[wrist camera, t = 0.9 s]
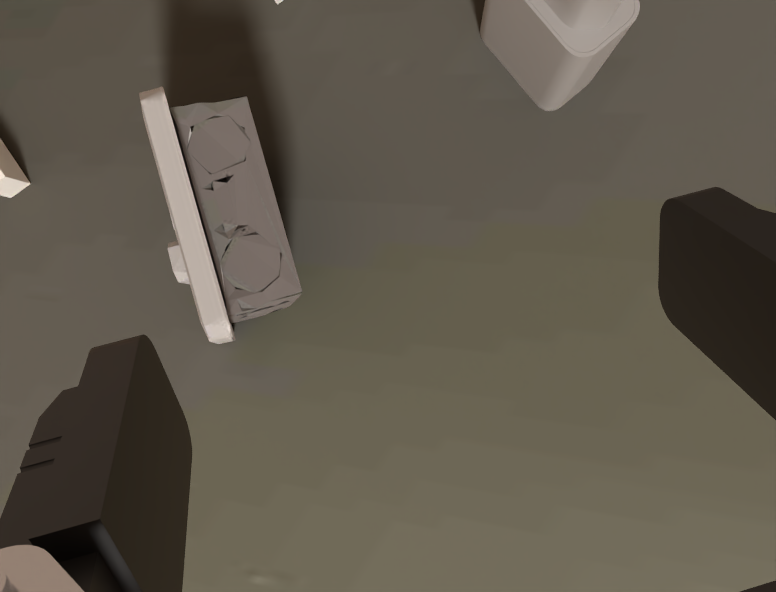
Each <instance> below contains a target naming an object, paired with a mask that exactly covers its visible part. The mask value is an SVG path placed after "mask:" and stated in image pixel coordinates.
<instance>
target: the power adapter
mask: <svg viewBox="0 0 776 592" xmlns="http://www.w3.org/2000/svg"><path fill="white" fill-rule="evenodd" d="M639 10H640V3H639V0H485V4H484V10H483V16H482V21H481V27H480V36H481V39H482V40H483V42H484V43H485V45H486V46H487V47H488V48H489V49H490V50H491V52H492V53H493V54H494V55H495V56H496V58H497V59H498V60H499V61H500V62H501V63H502V65H503V66H504V67H505V68H506V69H507V70H508V72H509V73H510V74H511V75H512V76H513V78H514V79H515V80H516V81H517V82H518V83H519V85H520V86H521V87H522V88H523V89H524V91H525V92H526V93H527V94H528V95H529V96H530V98H531V99H532V100H533V101H534V102H535V104H536V105H537V106H539V107H540V108H541V109H543V110H546V111H553V110H557V109H559V108H560V107H562V106H563V105H564V104H565V103H566V102H568V101H569V100H570V99H571V98H572V97H574V96H575V95H576V94H577V93H578V92H580V91H581V90H582V89H583V88H584V87H586V86H587V85H588V84H589V83H590V81H591V80H592V79H593V77H594V76H595V75H596V73H597V72H598V70H599V69H600V68H601V66H602V65H603V64H604V62H605V61H606V59H607V58H608V57H609V55H610V54H611V53H612V51H613V50H614V48H615V47H616V46H617V44H618V43H619V42H620V40H621V39H622V37H623V36H624V35H625V33H626V32H627V31H628V29H629V28H630V26H631V25H632V24H633V22H634V21H635V19H636V18H637V16H638V13H639Z"/></svg>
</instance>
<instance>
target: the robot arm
mask: <svg viewBox="0 0 776 592" xmlns="http://www.w3.org/2000/svg"><path fill="white" fill-rule="evenodd" d="M658 288H659V296H660V300H661V304H662V307H663V309H664V311H665V313H666V315H667V317H668V319H669V320H670V321H671V323H672V324H673V325H674V326H675V327H676V328H677V329H678V330H679V331H681V332H682V333H683V334H684V335H685V336H686V337H687V338H688V339H689V340H690V341H691V342H692V343H693V344H694V345H696V346H697V347H698V348H699V349H700V350H701V351H702V352H703V353H704V354H705V355H706V356H707V357H708V358H709V359H711V360H712V361H713V362H714V363H715V364H716V365H717V366H718V367H719V368H720V369H721V370H722V371H723V372H725V373H726V374H727V375H728V376H729V377H730V378H731V379H732V380H733V381H734V382H735V383H736V384H737V385H738V386H740V387H741V388H742V389H743V390H744V391H745V392H746V393H747V394H748V395H749V396H750V397H751V398H752V399H753V400H755V401H756V402H757V403H758V404H759V405H760V406H761V407H762V408H763V409H764V410H765V411H766V412H767V413H768V414H770V415H771V416H772V417H773V418H774V419H775V420H776V213H772V212H769V211H765V210H761V209H757V208H756V207H754V206H752V205H750V204H748V203H747V202H745V201H743V200H741V199H740V198H738V197H736V196H734V195H732V194H731V193H729V192H727V191H725V190H724V189H721V188H718V187H713V188H709V189H705V190H701V191H698V192H694V193H690V194H686V195H682V196H678V197H675V198H671V199H668V200H667V201H666V202H665V203H664V204H663V206H662V209H661V213H660V241H659V281H658ZM29 447H30V450H27V451H26V453H25V456H24V458H23V461H22V464H21V466H20V469H21V473H19V474H17V477H16V479H15V482H14V485H13V487H12V490H11V492H10V495H9V498H8V500H7V503H6V505H5V508H4V511H3V513H2V516H1V519H0V592H182V584H183V571H184V557H185V544H186V530H187V517H188V503H189V490H190V476H191V463H192V445H191V438H190V433H189V429H188V425H187V421H186V418H185V416H184V413H183V411H182V409H181V406H180V404H179V402H178V400H177V397H176V395H175V393H174V390H173V388H172V386H171V384H170V381H169V379H168V377H167V375H166V372H165V370H164V368H163V366H162V363H161V361H160V359H159V357H158V354H157V352H156V350H155V348H154V346H153V344H152V342H151V341H150V339H149V338H148V337H147V336H146V335H140V336H136V337H132V338H128V339H124V340H121V341H117V342H113V343H109V344H105V345H101V346H98V347H94V348H92V349H91V350H90V352H89V355H88V358H87V361H86V364H85V367H84V370H83V373H82V376H81V379H80V382H79V385H78V387H74V388H71V389H67V390H63V391H62V392H61V393H60V394H59V395H58V397H57V398H56V399H55V400H54V401H53V402H52V403H51V405H50V406H49V407H48V408H47V409H46V410H45V412H44V413H43V414H42V415H41V416H40V417H39V419H38V422H37V425H36V427H35V430H34V432H33V435H32V438H31V440H30V443H29ZM741 592H776V581H773V582H770V583H766V584H763V585H760V586H757V587H753V588H750V589H747V590H744V591H741Z"/></svg>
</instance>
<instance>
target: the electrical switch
mask: <svg viewBox="0 0 776 592" xmlns="http://www.w3.org/2000/svg"><path fill="white" fill-rule="evenodd" d="M139 95H140V101H141V106H142V112H143V117H144V122H145V126H146V129H147V133H148V136H149V140H150V143H151V147H152V151H153V154H154V158H155V161H156V165H157V169H158V172H159V176H160V179H161V183H162V186H163V190H164V194H165V197H166V201H167V204H168V208H169V211H170V215H171V219H172V223H173V227H174V229H175V233H176V236H177V240H178V241H175V242H171V243H168V252H169V256H170V260H171V264H172V268H173V272H174V274H175V276H176V278H177V280H178V282H180V283H186V284H190V286H191V290H192V293H193V297H194V300H195V304H196V307H197V311H198V314H199V318H200V321H201V324H202V326H203V329H204V331H205V333H206V335H207V337H208V339H209V341H210V342H213V343H216V344H222V343H226V342H231V341H235V336H234V331H233V328H232V324H231V323H235V322H239V321H243V320H247V319H251V318H255V317H259V316H264V315H266V314H268V313H271V312H274V311H277V310H280V309H283V308H286V307H289V306H290V305H291V304H292V303H293V302H294V301H295V300H296V299H297V298H298V297H299V296H300V295H301V294H298V295H294V296H290V295H293V294H296V293H299V292H302V289H301V285H300V282H299V278H298V275H297V271H296V268H295V264H294V261H293V257H292V254H291V250H290V247H289V243H288V240H287V236H286V233H285V229H284V226H283V222H282V219H281V215H280V212H279V208H278V204H277V201H276V197H275V194H274V190H273V187H272V183H271V180H270V176H269V173H268V169H267V166H266V162H265V159H264V155H263V152H262V148H261V145H260V141H259V138H258V134H257V131H256V127H255V124H254V120H253V117H252V113H251V110H250V106H249V103H248V99H247V96H243V97H238V98H234V99H229V100H225V101H220V102H216V103H195V104H190V105H186V106H178V107H169V106H168V102H167V99H166V96H165V92H164V89H163V87H160V88H157V89H153V90H149V91H145V92H141V93H139ZM245 156H246V158H245ZM280 252H281V253H282V256H281V261H280ZM286 296H289V297H286Z"/></svg>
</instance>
